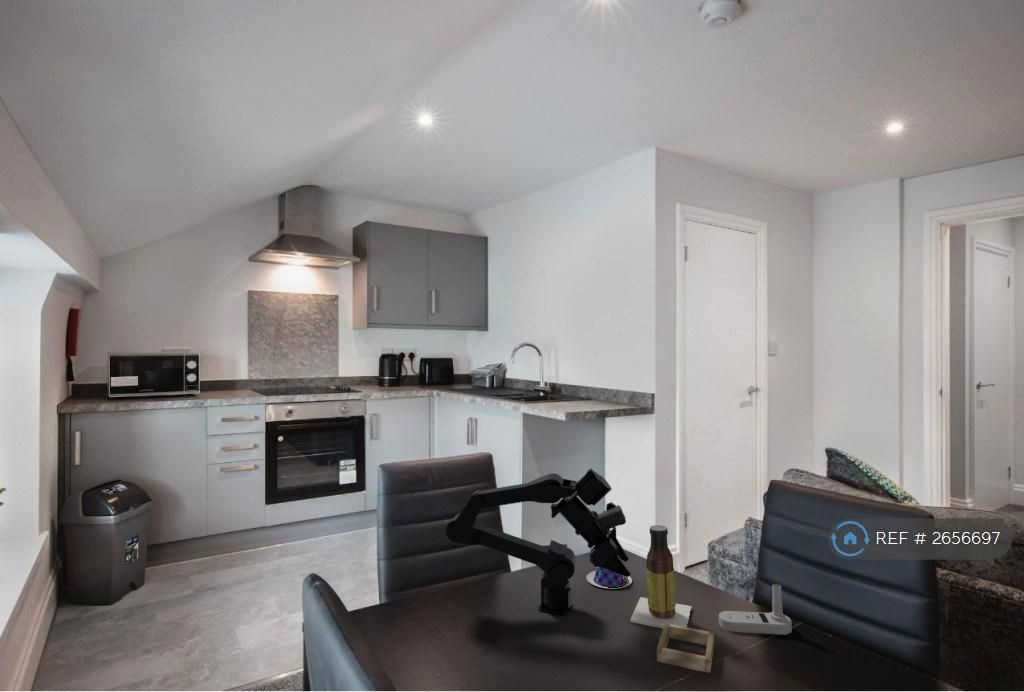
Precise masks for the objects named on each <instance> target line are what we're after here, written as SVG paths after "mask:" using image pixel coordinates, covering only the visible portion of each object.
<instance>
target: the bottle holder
mask: <svg viewBox="0 0 1024 692" xmlns="http://www.w3.org/2000/svg"><path fill="white" fill-rule="evenodd" d="M669 639H672V640H678V641H682V642H688V643H694V644H699V645H703V646H706V650H705V655H701V654H696V653H691V652H688V651H681V650H676V649H672V648H667V647H668V644H669ZM714 647H715V632H714V631H710V630H709V631H707V630H703V629H698V628H692V627H688V626H687V627H683V626H678V625H672V624H667V623H665V625H664V628H662V631H661V634H660V638H659V640H658V644H657V647H656V662H658V663H662V664H663V663H664V664H668V665H671V666H676V667H681V668H684V669H685V668H686V669H688V670H689V669H690V670H694V671H698V672H704V673H708V674H711V671H712V663H713V657H714V656H713V655H714V649H715V648H714Z"/></svg>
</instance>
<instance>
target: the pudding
mask: <svg viewBox="0 0 1024 692" xmlns="http://www.w3.org/2000/svg"><path fill="white" fill-rule="evenodd" d="M627 578H628V580H629V583H628V584H627V585H625V586H623V587H619V586H618V585H621V586H622V584H621V583H623V584H625V583H624V582H625V580H624V577H623V575H620V574H618V573H615V572H613V571H610V570H608V569H605V568H602V567H600V568H599V567H595V570H593V571H590V572H589V573H588V574H587V575H586V580H587V582H588V583H590V584H591V585H593V586H596V587H599V588H602V589H613V590H614V589H616V590H617V589H622V588H623V589H624V588H626V587H628V586H630V585H631V584H632V582H633V579H632V577H631V575H630V576H629V577H627ZM601 585H605V586H604V587H603V586H601ZM606 586H609V587H611V586H614V587H618V588H608V587H606Z"/></svg>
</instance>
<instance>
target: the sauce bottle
mask: <svg viewBox="0 0 1024 692" xmlns="http://www.w3.org/2000/svg"><path fill="white" fill-rule="evenodd" d="M668 531H669V530H668V527H667V526H665V525H661V524H660V525H659V524H653V525H651V526H650V527H649V534H650V547H649V550H648V553H647V554H646V562H645V563H646V567H645V569H646V590H647V591H646V592H647V593H646V594H647V598H648V606H649V612H650V613H651V614H652V615H654V616H656V617H661V618H670V617H672V616H674V615H675V607H676V604H677V603H676V586H675V584H676V583H675V567H674V558H673V554H672V552H671V551H670V548H669V547H668V546H669V545H668V534H669V532H668Z"/></svg>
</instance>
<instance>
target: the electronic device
mask: <svg viewBox="0 0 1024 692" xmlns="http://www.w3.org/2000/svg"><path fill="white" fill-rule="evenodd" d="M771 588H772V589H771V591H772V598H771V606H772V607H771V608H772V611H771V612H757V611H735V610H734V611H733V610H725V611H724V610H723V611H721V612H720V613H719V614H718V624H719V626H720V628H721V629H723V630H725V631H727V632H731V633H746V634H761V635H762V634H764V635H781V636H783V635H784V636H786V635H789V634H791V633H792V632H793V631H792V629H793V627H792V626H793V624H792V620H791V618H790V617H789V616H787V615H786V614H784V613H783V611H784V610H783V609H784V608H783V600H782V598H783V597H782V586H781V585H780V584H772V586H771Z"/></svg>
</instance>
